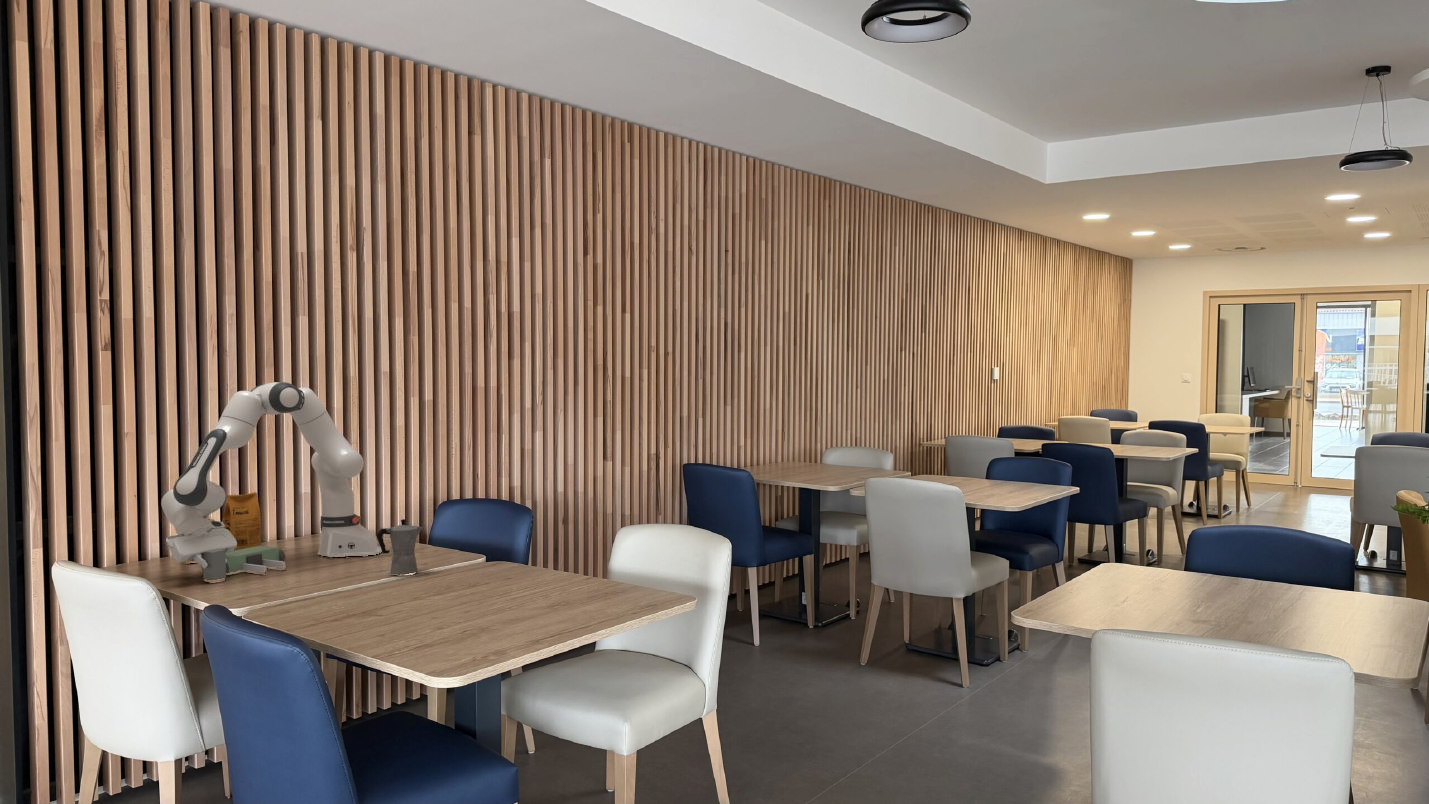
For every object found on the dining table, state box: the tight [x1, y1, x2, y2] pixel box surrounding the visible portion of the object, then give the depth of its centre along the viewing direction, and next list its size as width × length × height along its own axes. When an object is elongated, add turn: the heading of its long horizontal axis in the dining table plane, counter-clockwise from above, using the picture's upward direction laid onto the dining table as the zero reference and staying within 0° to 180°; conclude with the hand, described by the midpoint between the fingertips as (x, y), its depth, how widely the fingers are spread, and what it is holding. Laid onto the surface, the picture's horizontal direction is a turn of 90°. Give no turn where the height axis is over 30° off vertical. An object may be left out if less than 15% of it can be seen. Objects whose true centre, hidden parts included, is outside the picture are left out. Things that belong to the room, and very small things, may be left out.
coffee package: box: [221, 491, 262, 551], centre depth 344 cm, size 10×12×22 cm
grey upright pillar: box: [202, 549, 227, 580], centre depth 297 cm, size 4×4×10 cm
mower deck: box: [201, 545, 287, 573], centre depth 314 cm, size 23×20×6 cm
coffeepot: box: [376, 518, 424, 575], centre depth 308 cm, size 15×9×18 cm, turn 129°
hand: (215, 565), depth 297 cm, fingers closed on grey upright pillar, 4 cm apart
